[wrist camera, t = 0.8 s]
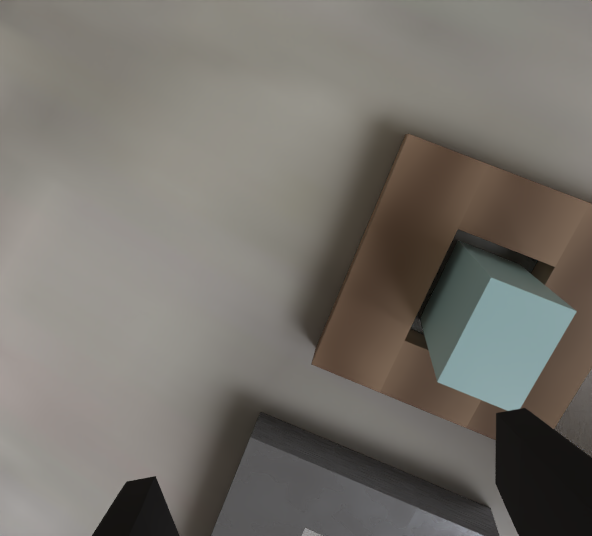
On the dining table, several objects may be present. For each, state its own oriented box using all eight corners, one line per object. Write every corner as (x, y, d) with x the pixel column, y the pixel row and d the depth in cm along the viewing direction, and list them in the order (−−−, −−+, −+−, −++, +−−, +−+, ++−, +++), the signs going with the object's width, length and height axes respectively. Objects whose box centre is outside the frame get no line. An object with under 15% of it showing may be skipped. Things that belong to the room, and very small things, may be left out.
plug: (519, 264, 24) (577, 311, 17) (477, 342, 25) (516, 414, 18) (457, 240, 24) (491, 277, 17) (420, 319, 25) (437, 382, 19)
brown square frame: (648, 227, 23) (673, 235, 21) (524, 433, 26) (536, 456, 24) (405, 134, 23) (408, 133, 21) (315, 348, 27) (311, 364, 25)
